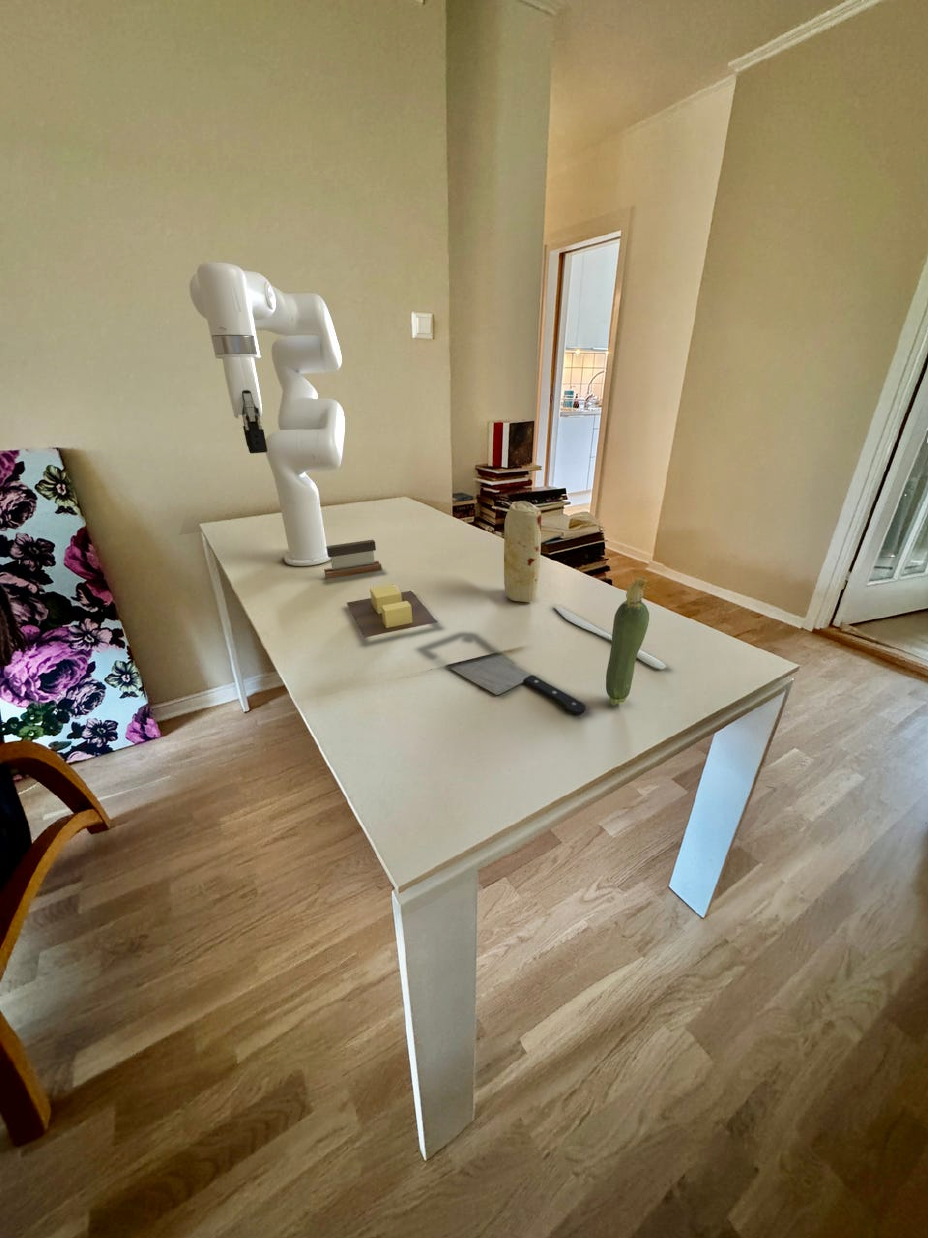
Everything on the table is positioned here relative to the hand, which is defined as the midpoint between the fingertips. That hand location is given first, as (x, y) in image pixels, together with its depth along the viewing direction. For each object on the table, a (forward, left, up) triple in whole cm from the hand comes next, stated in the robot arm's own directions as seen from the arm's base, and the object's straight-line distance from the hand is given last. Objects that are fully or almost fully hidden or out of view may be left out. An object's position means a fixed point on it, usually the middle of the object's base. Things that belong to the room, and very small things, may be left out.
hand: (257, 449), depth 94 cm
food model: (+25, +46, -31) cm, 60 cm away
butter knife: (+46, +51, -30) cm, 75 cm away
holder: (-2, +16, -30) cm, 34 cm away
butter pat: (+28, +18, -29) cm, 44 cm away
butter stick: (+20, +18, -29) cm, 40 cm away
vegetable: (+63, +41, -31) cm, 81 cm away
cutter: (-2, +16, -30) cm, 34 cm away
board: (+23, +18, -30) cm, 42 cm away
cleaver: (+50, +28, -30) cm, 65 cm away
